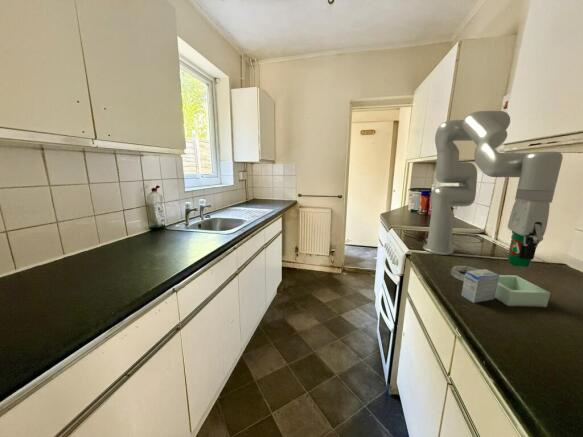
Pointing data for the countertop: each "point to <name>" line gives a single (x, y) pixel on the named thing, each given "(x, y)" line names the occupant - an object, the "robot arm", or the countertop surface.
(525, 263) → the soda can
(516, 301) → the bin
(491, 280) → the medicine box
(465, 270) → the collar
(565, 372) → the countertop surface
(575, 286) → the countertop surface
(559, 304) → the countertop surface
